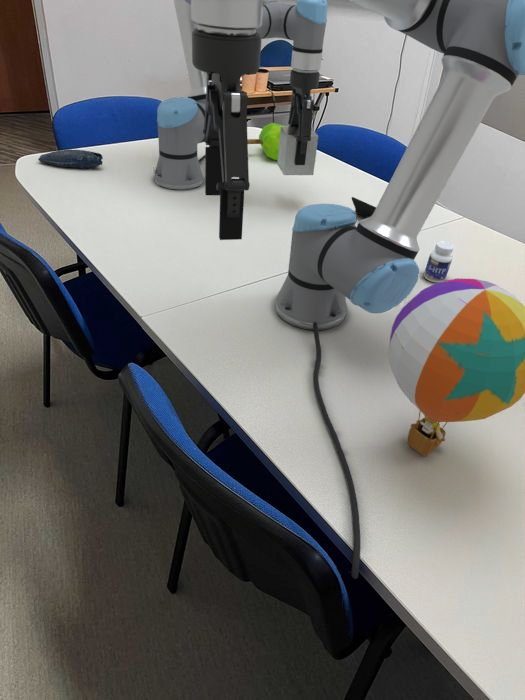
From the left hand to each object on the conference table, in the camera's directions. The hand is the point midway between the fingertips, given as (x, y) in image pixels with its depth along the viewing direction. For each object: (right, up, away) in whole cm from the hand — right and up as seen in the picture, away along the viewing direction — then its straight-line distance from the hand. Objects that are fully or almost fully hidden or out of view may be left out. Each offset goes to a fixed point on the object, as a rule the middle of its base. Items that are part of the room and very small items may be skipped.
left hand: (295, 159), depth 147 cm
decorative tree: (-7, +17, +42) cm, 46 cm away
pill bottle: (+33, -36, -19) cm, 53 cm away
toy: (+16, -70, -63) cm, 96 cm away
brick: (0, -2, +2) cm, 3 cm away
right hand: (-15, -36, -78) cm, 87 cm away
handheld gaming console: (+23, -15, +6) cm, 28 cm away
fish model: (-71, +6, +21) cm, 75 cm away
